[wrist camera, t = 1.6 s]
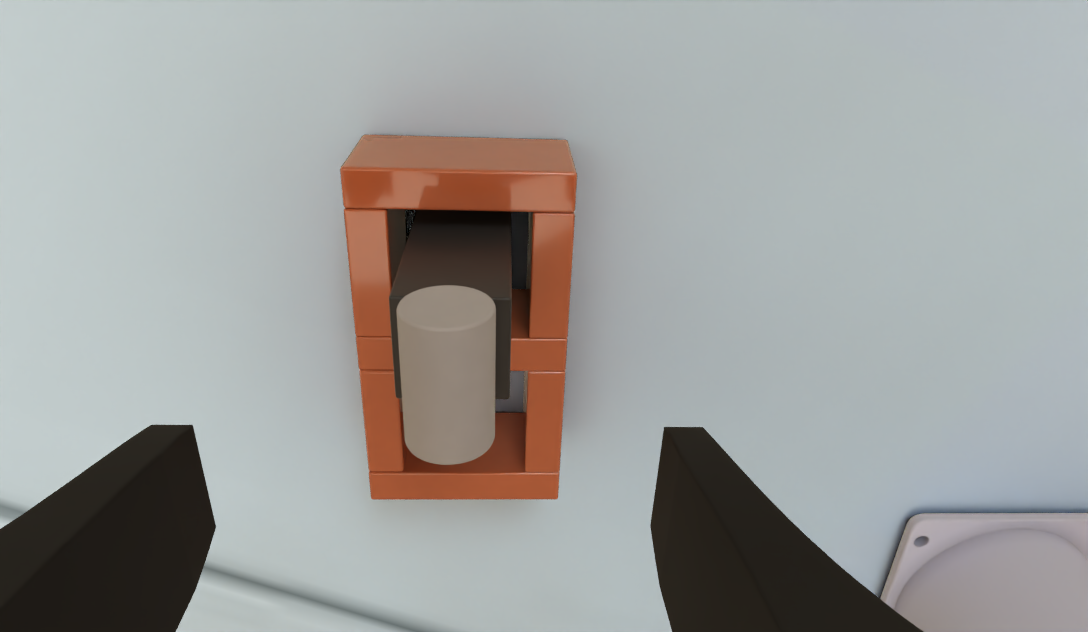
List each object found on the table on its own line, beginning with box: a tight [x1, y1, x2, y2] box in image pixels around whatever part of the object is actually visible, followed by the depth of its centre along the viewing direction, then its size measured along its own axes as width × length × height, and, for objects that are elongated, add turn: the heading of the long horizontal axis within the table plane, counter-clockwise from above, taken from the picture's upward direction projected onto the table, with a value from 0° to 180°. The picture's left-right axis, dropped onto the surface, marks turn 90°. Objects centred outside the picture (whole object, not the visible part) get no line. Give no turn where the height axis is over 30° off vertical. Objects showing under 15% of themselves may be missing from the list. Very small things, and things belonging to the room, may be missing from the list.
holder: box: [340, 135, 577, 499], centre depth 20 cm, size 10×5×3 cm, turn 178°
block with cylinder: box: [389, 210, 512, 465], centre depth 17 cm, size 3×2×8 cm
